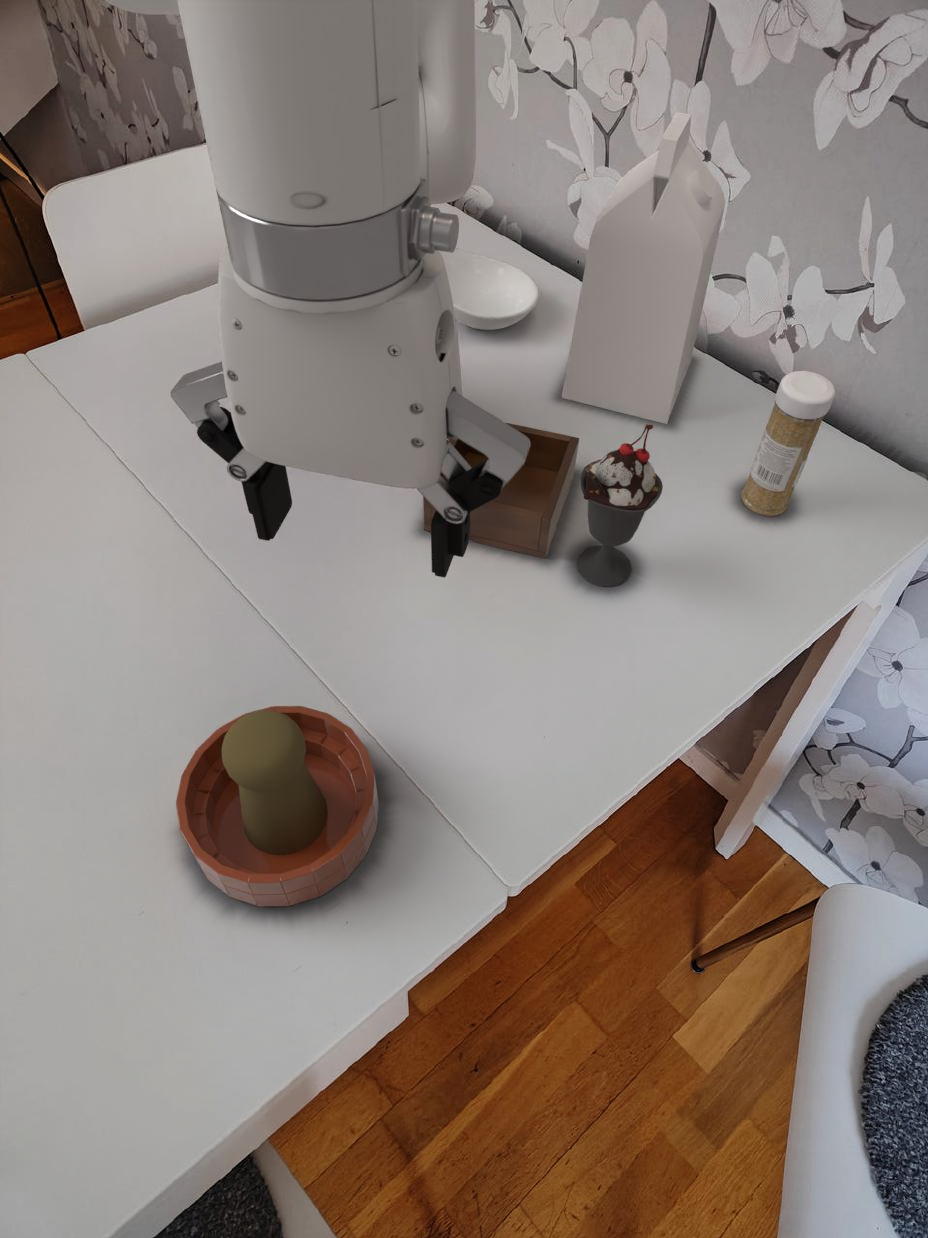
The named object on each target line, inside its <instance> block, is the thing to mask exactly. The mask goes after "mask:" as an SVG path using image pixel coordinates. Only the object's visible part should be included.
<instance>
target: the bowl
mask: <svg viewBox="0 0 928 1238" xmlns="http://www.w3.org/2000/svg"><path fill="white" fill-rule="evenodd" d="M261 710H267V711H277V712H279V713H282V714H285V715H287V716H288V717H290V718H291V719H292V720H293V721H294V722H296V724H297V725H298V726H299V728H300V730H301V731H302V733H303V735H304V740H305V746H306V753H305V758H304V763H305V764H306V766H307V768H308V770H309V771H310V773H311V775H312V777H313V778H314V780H315V782H316V784H317V786H318V787H319V789H320V791H321V793H322V794H323V796H324V798H325V800H326V804H327V810H328V815H327V820H326V825H325V827H324V828H323V830H322V832H321V834H320V836H319V837H318V838H317V839H316V840H315V841H314V842H313V843H312V844H311V845H310V846H308V847H306V848H304V849H303V850H301V851H299V852H297V853H292V854H288V855H272V854H268V853H266V852H263V851H261V850H258V849H257V848H256V847H255V846H254V845H253V844H252V843H251V842H250V841H249V840H248V838H247V836H246V834H245V832H244V827H243V819H242V810H241V802H240V793H239V785H238V784H237V783H236V782H235V781H234V780H233V779H232V778H231V777H230V776H229V774H228V773H227V771H226V769H225V767H224V764H223V762H222V745H223V741H224V737H225V735H226V734H227V732H228V731H229V729H230V728H231V726H232V725H233V724H234V723H235V722H237V721H238V720H239V719H240V718H241V717H243V716H245V715H247V714H249V713H251V712H256V711H261ZM175 806H176V813H177V820H178V826H179V831H180V833H181V835H182V837H183V839H184V840H185V842H186V844H187V846H188V848H189V850H190V852H191V853H192V855H193V856H194V859H195V860H196V863H198V865H199V867H200V869H201V871H202V872H203V874H204V876H205V877H206V879H207V880H208V881H209V882H210V883H212V884H213V885H214V886H216V887H217V888H218V889H219V890H220V891H222V892H223V893H224V894H226V895H227V896H228V897H230V898H231V899H234V900H235V899H236V900H238V901H241V902H244V903H247V904H250V905H254V906H258V907H290V906H294V905H297V904H301V903H304V902H306V901H310V900H312V899H316V898H319V897H322V896H323V895H325V894H326V893H328V892H329V891H331V890H332V889H333V888H335V887H337V886H338V885H339V884H341V883H342V882H344V881H346V880H347V879H348V878H349V877H350V875H351V874H352V873H353V872H354V870H355V869H356V868H357V867H358V866H359V864H360V863H361V862H362V861H363V860H364V858H365V857H366V855H367V854H368V851H369V849H370V846H371V844H372V842H373V839H374V837H375V834H376V831H377V827H378V814H379V797H378V790H377V781H376V774H375V770H374V767H373V764H372V761H371V758H370V755H369V751H368V748H367V747H366V746H365V744H364V743H363V742H362V740H361V739H360V738H359V737H358V735H357V734H356V733H355V731H354V730H353V729H352V727H350V726H348V724H345V723H344V722H342V721H341V720H340V719H338V718H336V717H335V716H333V715H332V714H330V713H327V712H324V711H321V710H318V709H313V708H310V707H307V706H303V705H274V706H269V707H265V708H264V707H263V708H261V709H257V710H253V711H249V712H246V713H243V714H242V715H240V716H238V717H236V718H234V719H232V720H230V721H229V722H227V723H225V724H224V725H221V726H220V727H218V728H217V729H216V730H215V731H214V732H212V734H210V736H209V737H208V738H207V739H205V740H204V741H203V742H202V743H201V744H200V745H199V746H198V747H197V748H196V749H195V751H194V753H193V755H192V756H191V758H190V760H189V761H188V763H187V765H186V767H185V768H184V770H183V772H182V774H181V777H180V781H179V786H178V791H177V796H176V800H175Z"/></svg>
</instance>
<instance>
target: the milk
mask: <svg viewBox="0 0 928 1238" xmlns="http://www.w3.org/2000/svg"><path fill="white" fill-rule="evenodd" d="M691 125H692V114H691V113H685V112H680V111H676V112H675V114H674V115H673V117H672V119H671V121H670V123H669V124H668V126H667V128H666V129H665V131H664V132H663V135H662V136H661V139H660V143H659V148H658V150H656V151H655V152H654V153H652V154H651V155H649V156H647V157H646V158H645V159H643V160H642V161H640V162H639V163H637V164H636V165H635V166H634V167H632V168H631V169H630V170H629V171H627V173H626V174H624V176H622V178H620V179H619V180H618V182H617V183H616V185H615V187H614V188H613V190H612V191H611V193H610V194H609V196H608V198H607V200H606V201H605V203H604V204H603V207H602V208H601V210H600V211H599V213H598V215H597V216H596V219H595V222H594V224H593V227H592V232H591V234H590V237H589V242H588V248H587V254H586V259H585V265H584V271H583V275H582V281H581V288H580V293H579V297H578V304H577V310H576V315H575V320H574V326H573V332H572V337H571V342H570V346H569V354H568V359H567V364H566V370H565V375H564V381H563V386H562V392H561V399H564V400H568V401H573V402H577V403H581V404H585V405H589V406H593V407H597V408H601V409H605V410H608V411H609V410H610V411H613V412H617V413H621V414H625V415H628V416H631V417H632V416H633V417H637V418H641V419H645V420H649V421H653V422H656V423H660V424H665V425H668V422H669V419H670V417H671V415H672V412H673V409H674V406H675V404H676V401H677V399H678V396H679V393H680V392H681V388H682V386H683V383H684V380H685V378H686V376H687V373H688V370H689V367H690V365H691V362H692V359H693V353H694V350H695V346H696V345H695V344H696V341H697V336H698V332H699V327H700V321H701V318H702V313H703V307H704V303H705V300H706V299H705V298H706V296H707V295H706V294H707V290H708V285H709V282H710V281H709V280H710V276H711V271H712V267H713V263H714V258H715V253H716V249H717V244H718V239H719V234H720V230H721V225H722V221H723V217H724V213H725V206H726V198H725V193H724V190H723V188H722V186H721V184H720V183H719V181H718V180H717V178H716V177H715V176H714V174H713V173H712V171H711V170H710V169H709V167H708V166H707V164H706V163H705V162H704V160H703V159H702V158H701V156H700V155H699V153H698V152H697V150H695V148H694V147H693V145H692V144H691V143H690V142H689V141H690V135H691Z"/></svg>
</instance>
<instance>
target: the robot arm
mask: <svg viewBox="0 0 928 1238" xmlns="http://www.w3.org/2000/svg"><path fill="white" fill-rule="evenodd" d="M104 1H105V2H106V3H108V4H109V5H111V6H113V7H115V8H117V9H119V10H122V11H126V12H130V13H134V14H142V15H148V16H149V15H150V16H151V15H180V21H181V26H182V31H183V36H184V41H185V46H186V49H187V50H186V51H187V56H188V60H189V64H190V69H191V76H192V80H193V85H194V89H195V94H196V99H197V105H198V109H199V114H200V119H201V124H202V128H203V132H204V137H205V142H206V143H205V144H206V149H207V152H208V157H209V162H210V167H211V172H212V177H213V182H214V186H215V190H216V195H217V196H216V197H217V201H218V205H219V206H218V207H219V211H220V216H221V220H222V225H223V231H224V234H225V239H226V244H227V246H226V248H224V250H223V251H222V253H221V255H220V257H219V261H218V276H217V277H218V278H217V312H218V313H217V318H218V334H219V335H218V336H219V338H218V339H219V347H220V356H221V361H219V362H216V363H214V364H210V365H207V366H205V367H202V368H199V369H196V370H193V371H191V372H188V373H185V374H183V375H182V376H181V377H180V378H179V380H178V381H177V382H176V383H175V385H174V386H173V388H172V389H171V390H170V398H171V399H172V400H173V401H174V403H175V404H176V405H177V406H178V408H179V409H180V411H181V412H182V413H183V414H184V416H185V417H186V419H188V422H190V423H191V424H194V425H195V426H196V428H197V429H196V434H197V437H198V438H199V440H200V441H201V442H202V443H204V444H205V445H206V446H207V447H208V448H210V449H211V450H212V451H213V452H214V453H215V454H216V455H218V456H219V457H220V458H221V459H223V460H224V461H225V462H226V463H227V465H226V471H227V473H228V475H229V476H230V477H231V478H232V479H233V480H236V481H238V482H241V486H242V490H243V491H242V492H243V495H244V499H245V503H246V506H247V511H248V513H249V514H250V515H252V518H253V522H254V526H255V527H254V528H255V531H256V535H257V538H258V540H263V541H269V542H270V541H271V540H274V539H275V536H276V535H277V533H278V532H279V530H280V528H281V526H282V525H283V522H284V521H285V519H286V518H287V516H288V514H289V512H290V510H291V509H292V506H293V497H292V493H291V487H290V482H289V478H288V477H289V476H288V473H287V467H288V468H293V469H297V470H302V471H307V472H311V473H317V474H318V473H319V474H323V475H327V476H332V477H338V478H343V479H349V480H352V481H357V482H363V483H370V484H374V485H379V486H380V485H381V486H385V487H392V488H399V489H410V490H411V489H416V490H417V491H418V492H419V493H420V494H421V495H422V497H423V496H424V497H425V498H426V499H427V501H428V502H429V503H430V504H431V505H432V506H433V507H434V508H435V509H436V511H435V514H434V516H433V519H432V522H431V532H430V548H431V549H430V550H431V553H430V554H431V555H430V557H431V573H433V574H434V576H435V577H440V578H446V577H447V575H448V572H449V570H450V567H451V564H452V561H453V560H454V557H459V558H460V557H461V558H463V557H464V556H465V554H466V551H467V548H468V545H469V535H470V512H471V511H473V510H475V509H477V508H478V507H480V506H482V505H484V504H486V503H488V502H489V501H491V500H493V499H495V498H497V497H498V496H499V494H500V492H501V490H502V488H503V487H504V486H505V485H506V484H507V483H508V482H509V481H510V480H511V479H512V478H513V477H514V475H515V474H516V473H517V472H518V471H519V469H520V468H521V467H522V466H523V465H524V463H525V460H526V457H527V454H528V452H529V449H530V446H531V442H530V440H529V438H528V437H527V436H526V435H524V434H522V433H521V432H519V431H518V430H516V429H514V428H513V427H511V426H509V425H508V424H506V423H507V422H506V423H505V421H503V420H502V419H500V418H499V417H497V416H495V415H493V414H492V413H490V412H489V411H487V410H485V408H482V407H481V406H479V405H478V404H476V403H474V402H473V401H471V400H469V399H468V398H466V397H465V396H464V395H463V382H462V380H463V379H462V369H461V355H460V345H459V336H458V328H457V327H458V326H457V320H456V319H455V313H454V306H453V300H452V294H451V289H450V284H449V280H448V276H447V271H446V267H445V263H444V260H443V257H442V255H441V253H440V252H439V251H445V252H451V253H453V252H454V250H455V248H457V244H458V239H459V232H460V219H459V218H460V217H459V216H458V214H454V213H447V212H441V209H440V208H439V207H435V206H432V205H441V204H448V203H453V202H455V201H457V200H459V199H462V197H464V196H465V195H466V193H467V192H468V191H469V189H470V187H471V186H472V182H473V179H474V174H475V168H476V158H477V100H476V99H477V95H476V93H477V92H476V22H475V21H476V14H475V13H476V12H475V11H476V10H475V8H476V6H475V0H104ZM226 398H227V401H228V407H229V409H227V408H225V407H223V406H220V405H221V403H220V400H223V399H226ZM449 439H450V440H457V439H460V440H461V441H463V442H464V443H466V444H468V445H469V446H471V447H473V448H474V449H476V450H478V451H479V452H481V453H482V454H484V455H485V456H486V457H488V459H486V460H485V461H483V462H481V463H480V464H478V465H476V466H474V467H473V468H472V467H471V466H470V465H469V464H468V463H467V462H466V460H465V459H464V458H463V457H462V456H461V455H460V453H459V452H458V451H457V450H456V449H455V448H454V447H453V445H452V444H451V443H450V442H449ZM441 472H442V473H443V474H444V476H445V477H446V478H447V479H448V480H449V482H446V481H445V480H444V479H443V478H442V477H441V476H440V473H441Z"/></svg>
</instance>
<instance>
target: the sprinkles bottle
mask: <svg viewBox="0 0 928 1238" xmlns="http://www.w3.org/2000/svg"><path fill="white" fill-rule="evenodd" d="M835 395H836V388H835V385H834V384H833V383H832V382H831V381H830V380H829V379H828V378H827V377H825V376H824V375H821V374H819V373H817V372H813V371H807V370H795V371H791V372H789V373H786V375H784V376H783V377H782V378H781V380H780V382H779V385H778V387H777V390H776V393H775V396H774V405H773V407H772V410H771V413H770V416H769V418H768V421H767V423H766V425H765V428H764V431H763V434H762V437H761V439H760V442H759V444H758V447H757V450H756V452H755V455H754V459H753V462H752V465H751V468H750V471H749V475H748V478H747V480H746V484H745V486H744V487H743V489H742V491H741V500H742V502H743V504H744V505H745V507H746V508H747V509H749V510H750V511H752V512H753V513H755V514H758V515H761V516H766V517H771V516H773V517H774V516H778V515H781V514H782V513H783V514H784V512H786V510H787V509H788V508H789V506H790V501H791V498H792V496H793V492H794V491H795V487H796V485H797V484H798V482H799V480H800V478H801V475H802V473H803V470H804V468H805V466H806V463H807V460H808V457H809V454H810V451H811V448H812V446H813V445H814V442H815V439H816V437H817V434H818V432H819V429H820V426H821V425H822V422H823V419H824V417H825V416H826V415H827V413H829V410H830V409H831V407H832V404H833V401H834V399H835Z"/></svg>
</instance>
